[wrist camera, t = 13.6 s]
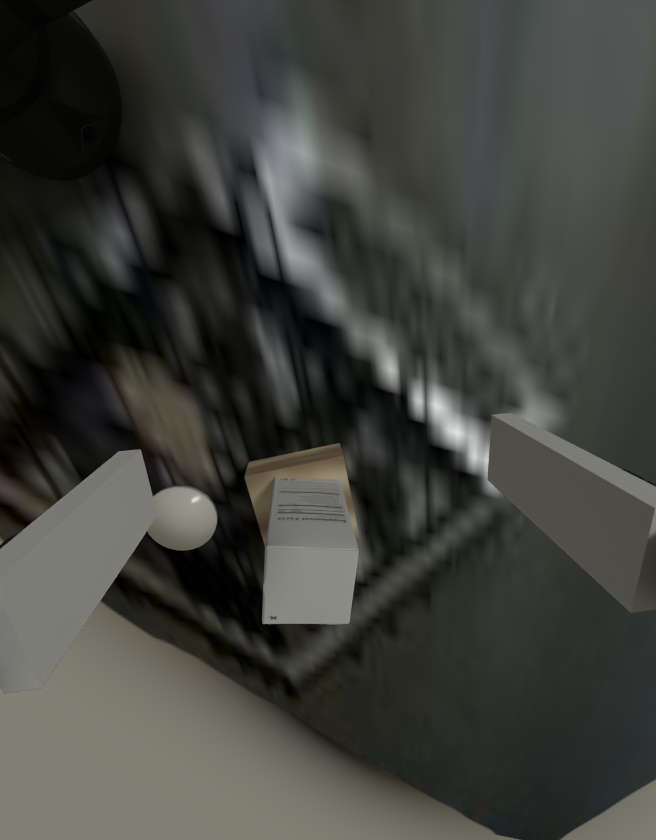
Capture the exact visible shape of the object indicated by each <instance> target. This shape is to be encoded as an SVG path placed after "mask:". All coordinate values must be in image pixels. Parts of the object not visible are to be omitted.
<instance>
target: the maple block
mask: <svg viewBox="0 0 656 840" xmlns="http://www.w3.org/2000/svg"><path fill="white" fill-rule="evenodd" d="M244 477H245V481H246V484H247V487H248V491H249V494H250V498H251V501H252V504H253V508H254V511H255V514H256V518H257V521H258V524H259V528H260V531H261V535H262V538H263V541H264V545H266V536H267V528H268V521H269V513H270V505H271V498H272V490H273V482H274V478H275V477H293V478H320V479H339V480H340V481H341V485H342V489H343V493H344V496H345V500H346V504H347V508H348V512H349V516H350V520H351V523H352V527H353V531H354V535H355V539H356V540H358V539H359V533H358V528H357V523H356V518H355V513H354V508H353V503H352V498H351V493H350V488H349V482H348V477H347V472H346V467H345V462H344V457H343V453H342V450H341V447H340V443H338V444H333V445H328V446H324V447H319V448H314V449H309V450H305V451H300V452H295V453H290V454H286V455H281V456H276V457H271V458H266V459H262V460H257V461H252V462H249V463H248V466H247V470H246V473H245V476H244Z"/></svg>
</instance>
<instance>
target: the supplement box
mask: <svg viewBox="0 0 656 840" xmlns="http://www.w3.org/2000/svg"><path fill="white" fill-rule="evenodd" d="M358 552H359V550H358V546H357V542H356V539H355V535H354V531H353V527H352V523H351V520H350V516H349V512H348V508H347V504H346V500H345V496H344V493H343V489H342V485H341V481H340V480H339V479H320V478H293V477H275V478H274V482H273V490H272V498H271V505H270V513H269V521H268V528H267V536H266V545H265V565H264V585H263V611H262V623H263V624H348V623H349V620H350V613H351V605H352V598H353V591H354V583H355V576H356V568H357V560H358Z"/></svg>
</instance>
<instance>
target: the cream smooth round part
mask: <svg viewBox="0 0 656 840" xmlns="http://www.w3.org/2000/svg"><path fill="white" fill-rule="evenodd" d="M153 500H154V503H155V507H156V511H157V517H156V518H155V520H154V521H153V523H152V524H151V526H150V527H149V529H148V530H147V532H148V533H149V535H150V536H151V537H152V538H153V539H154V540H155V541H156V542H157V543H159V544H160V545H162V546H164V547H167V548H170V549H174V550H191V549H195V548H197V547H200V546H202V545H203V544H205V543H206V542H207V541H208V540H209V539H210V538H211V537H212V535H213V533H214V531H215V528H216V526H217V522H218V512H217V508H216V506H215V504H214V502H213V501H212V500H211V498H210V497H209V496H208V495H207V494H205V493H204V492H202V491H201V490H199V489H197V488H194V487H191V486H186V485H174V486H169V487H166V488H164V489H162V490H160V491H158V492H157V493H156V494H155V495H154V496H153Z"/></svg>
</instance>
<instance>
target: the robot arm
mask: <svg viewBox="0 0 656 840" xmlns="http://www.w3.org/2000/svg"><path fill="white" fill-rule="evenodd" d="M90 1H92V0H0V157H1V158H3V159H4V160H6V161H8V162H10V163H12V164H13V165H15V166H17V167H19V168H21V169H24V170H26V171H28V172H30V173H32V174H35V175H38V176H41V177H45V178H49V179H59V180H63V179H73V178H77V177H81V176H83V175H86V174H88V173H90V172H92V171H93V170H95V169H96V168H97V167H99V166H100V165H101V164H102V163H103V162H104V161H105V160H106V158H107V157H108V156H109V154H110V153H111V151H112V149H113V147H114V145H115V143H116V141H117V138H118V135H119V130H120V125H121V115H122V108H121V96H120V91H119V86H118V82H117V79H116V75H115V73H114V70H113V68H112V65H111V63H110V61H109V59H108V57H107V55H106V53H105V52H104V50H103V48H102V47H101V45H100V44H99V42H98V41H97V39H96V38H95V37H94V35H93V34H92V33H91V32H90V30H89V29H88V28H87V26H86V25H85V24H84V22H83V21H82V20H81V19H80V18H79V17H78V15H77V14H76V13H75V12H74V11H73V10H75V9H77V8H79V7H81V6H83V5H84V4H86V3H88V2H90ZM488 481H489V482H490V483H492V484H493V485H494V486H495V487H496V488H497V489H498V490H499V491H500V492H501V493H502V494H503V495H504V496H506V497H507V498H508V499H509V500H510V501H511V502H512V503H513V504H514V505H515V506H516V507H517V508H518V509H520V510H521V511H522V512H523V513H524V514H525V515H526V516H527V517H528V518H529V519H530V520H531V521H532V522H534V523H535V524H536V525H537V526H538V527H539V528H540V529H541V530H542V531H543V532H544V533H545V534H546V535H548V536H549V537H550V538H551V539H552V540H553V541H554V542H555V543H556V544H557V545H558V546H559V547H560V548H562V549H563V550H564V551H565V552H566V553H567V554H568V555H569V556H570V557H571V558H572V559H573V560H574V561H576V562H577V563H578V564H579V565H580V566H581V567H582V568H583V569H584V570H585V571H586V572H587V573H588V574H590V575H591V576H592V577H593V578H594V579H595V580H596V581H597V582H598V583H599V584H600V585H601V586H602V587H604V588H605V589H606V590H607V591H608V592H609V593H610V594H611V595H612V596H613V597H614V598H615V599H616V600H618V601H619V602H620V603H621V604H622V605H623V606H624V607H625V608H626V609H627V610H628V611H629V612H630V613H633V612H641V611H648V610H656V484H654V483H652V482H650V481H645V479H644V478H642V477H640V476H638V475H636V474H634V473H632V472H630V471H628V470H625V469H622V468H619V467H616V466H614V465H612V464H610V463H608V462H606V461H604V460H602V459H600V458H598V457H597V456H595V455H593V454H591V453H589V452H587V451H585V450H583V449H581V448H579V447H577V446H575V445H573V444H571V443H569V442H567V441H565V440H563V439H561V438H559V437H557V436H555V435H553V434H551V433H550V432H548V431H546V430H544V429H542V428H540V427H538V426H536V425H534V424H532V423H530V422H528V421H526V420H524V419H522V418H520V417H518V416H516V415H514V414H512V413H507V414H497V415H492V422H491V436H490V451H489V466H488ZM156 517H157V511H156V507H155V503H154V500H153V496H152V492H151V488H150V484H149V480H148V476H147V472H146V468H145V464H144V461H143V457H142V453H141V449H140V450H130V451H119V452H118V453H117V454H115V455H114V456H113V457H112V458H111V459H109V460H108V461H107V462H106V463H104V464H103V465H102V466H101V467H100V468H98V469H97V470H96V471H95V472H93V473H92V474H91V475H90V476H89V477H87V478H86V479H85V480H84V481H82V482H81V483H80V484H79V485H78V486H76V487H75V488H74V489H73V490H72V491H70V492H69V493H68V494H67V495H65V496H64V497H63V498H62V499H61V500H59V501H58V502H57V503H56V504H54V505H53V506H52V507H51V508H50V509H48V510H47V511H46V512H45V513H43V514H42V515H41V516H40V517H39V518H37V519H36V520H35V521H34V522H32V523H31V524H30V525H29V526H28V527H26V528H25V529H24V530H23V531H21V532H19V533H17V534H15V535H14V536H12V537H10V538H8V539H7V540H6V541H5V542H3V543H2V544H1V545H0V687H1V689H2V691H3V693H11V692H20V691H28V690H35V689H41V688H42V687H43V685H44V684H45V682H46V681H47V679H48V678H49V676H50V675H51V673H52V672H53V671H54V669H55V668H56V666H57V665H58V663H59V662H60V660H61V659H62V657H63V656H64V654H65V653H66V651H67V650H68V648H69V647H70V645H71V644H72V642H73V641H74V639H75V638H76V636H77V634H78V633H79V632H80V630H81V629H82V627H83V626H84V624H85V623H86V621H87V620H88V618H89V617H90V615H91V614H92V612H93V610H94V609H95V608H96V606H97V605H98V603H99V602H100V600H101V599H102V597H103V596H104V594H105V593H106V591H107V590H108V588H109V587H110V585H111V584H112V582H113V581H114V580H115V578H116V577H117V575H118V574H119V572H120V571H121V569H122V568H123V566H124V565H125V563H126V562H127V560H128V559H129V557H130V556H131V554H132V553H133V551H134V550H135V548H136V547H137V545H138V544H139V542H140V541H141V539H142V538H143V536H144V535H145V533H146V532H147V530H148V529H149V527H150V526H151V524H152V523H153V521H154V520H155V518H156Z"/></svg>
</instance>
